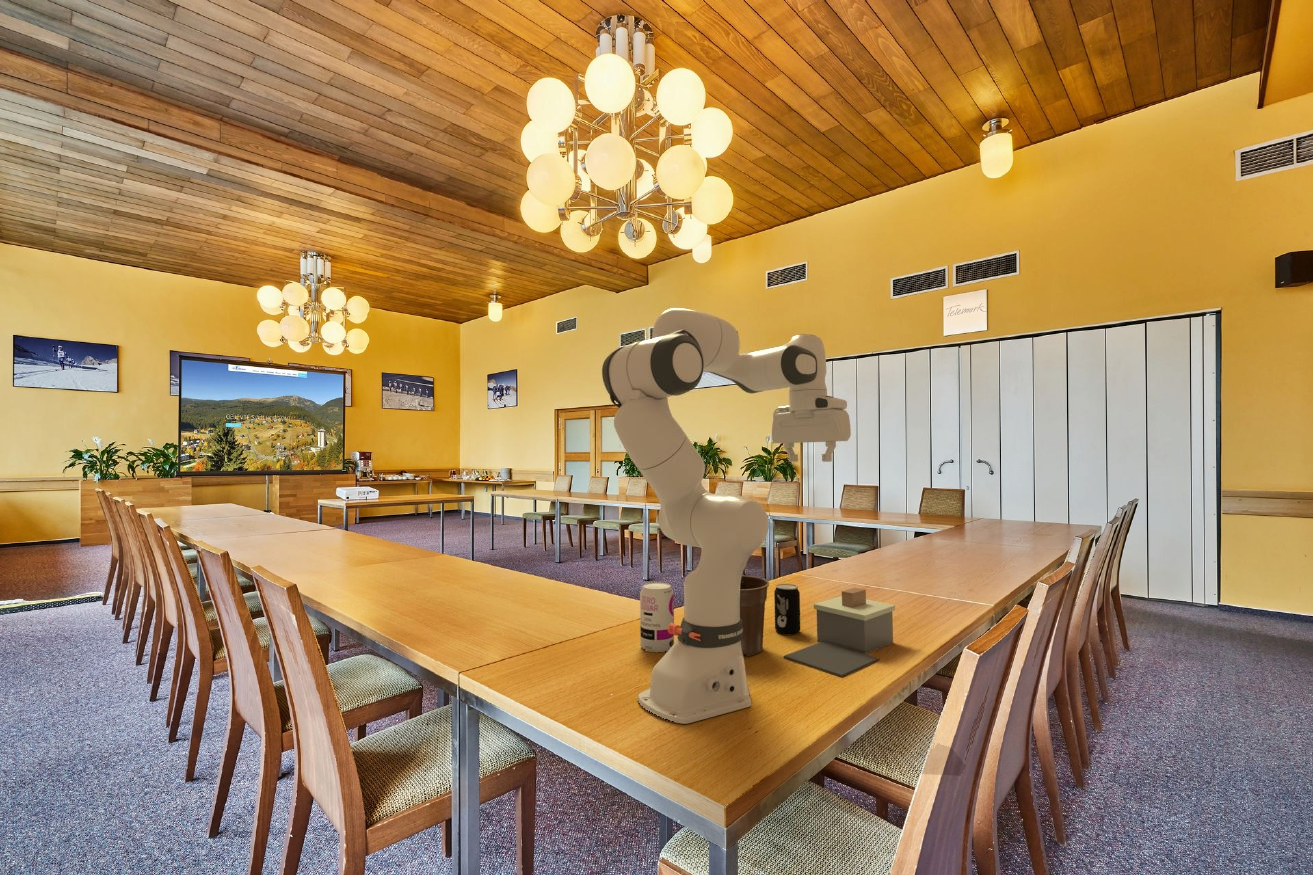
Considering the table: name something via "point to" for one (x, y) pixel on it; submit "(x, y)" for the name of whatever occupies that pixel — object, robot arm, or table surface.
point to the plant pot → (752, 613)
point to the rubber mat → (831, 659)
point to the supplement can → (656, 616)
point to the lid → (854, 605)
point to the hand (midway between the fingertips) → (809, 461)
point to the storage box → (855, 631)
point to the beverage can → (787, 609)
